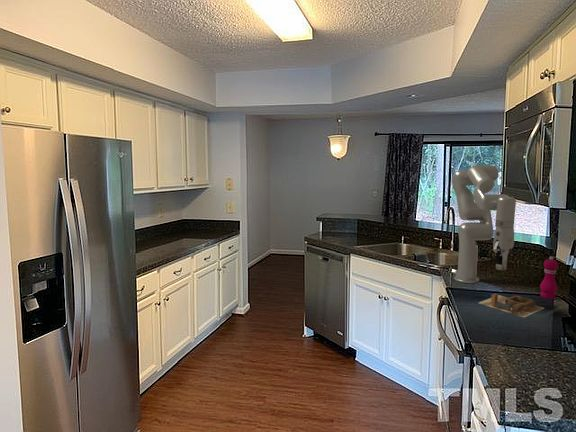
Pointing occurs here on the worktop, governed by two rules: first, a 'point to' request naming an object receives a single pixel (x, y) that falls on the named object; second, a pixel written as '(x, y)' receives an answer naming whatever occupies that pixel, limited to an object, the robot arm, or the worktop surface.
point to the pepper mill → (549, 279)
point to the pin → (499, 303)
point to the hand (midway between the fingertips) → (501, 262)
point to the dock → (502, 299)
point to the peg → (504, 261)
